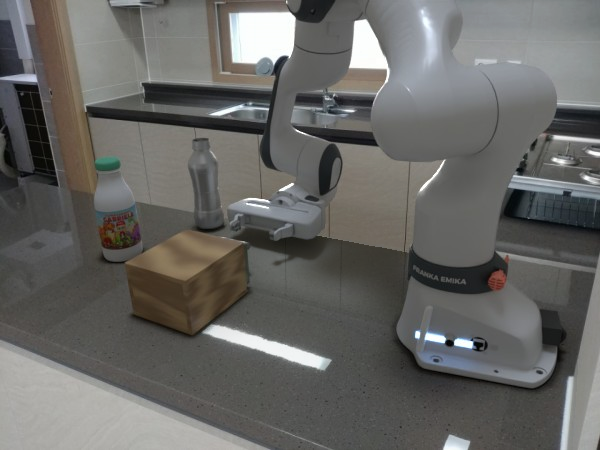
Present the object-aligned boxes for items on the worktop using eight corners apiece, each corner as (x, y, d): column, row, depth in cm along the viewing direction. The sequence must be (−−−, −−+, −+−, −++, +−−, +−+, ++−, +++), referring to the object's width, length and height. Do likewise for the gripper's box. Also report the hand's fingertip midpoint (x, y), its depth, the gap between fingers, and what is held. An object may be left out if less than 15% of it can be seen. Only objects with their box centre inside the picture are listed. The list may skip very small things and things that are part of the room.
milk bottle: (97, 254, 109) (78, 159, 102) (133, 242, 114) (117, 151, 106) (113, 266, 104) (95, 168, 96) (150, 254, 109) (135, 159, 101)
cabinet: (192, 276, 100) (186, 229, 96) (247, 292, 94) (243, 242, 90) (133, 314, 88) (124, 262, 84) (192, 335, 82) (185, 280, 78)
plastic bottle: (219, 233, 117) (210, 144, 109) (190, 231, 119) (179, 143, 111) (228, 221, 123) (221, 136, 115) (201, 220, 124) (191, 135, 116)
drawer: (215, 259, 104) (211, 222, 101) (264, 271, 99) (261, 233, 96) (147, 302, 90) (141, 261, 87) (200, 320, 84) (195, 277, 81)
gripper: (248, 187, 118) (208, 208, 107) (331, 201, 108) (296, 226, 97) (250, 213, 120) (211, 236, 109) (331, 230, 110) (297, 257, 99)
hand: (252, 232), depth 103 cm, fingers open, 8 cm apart
